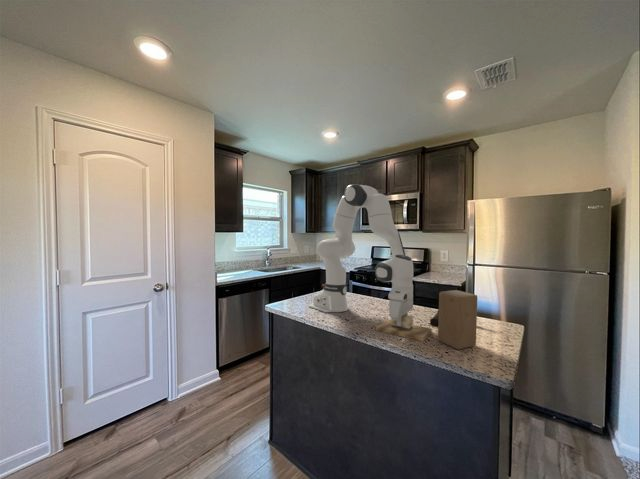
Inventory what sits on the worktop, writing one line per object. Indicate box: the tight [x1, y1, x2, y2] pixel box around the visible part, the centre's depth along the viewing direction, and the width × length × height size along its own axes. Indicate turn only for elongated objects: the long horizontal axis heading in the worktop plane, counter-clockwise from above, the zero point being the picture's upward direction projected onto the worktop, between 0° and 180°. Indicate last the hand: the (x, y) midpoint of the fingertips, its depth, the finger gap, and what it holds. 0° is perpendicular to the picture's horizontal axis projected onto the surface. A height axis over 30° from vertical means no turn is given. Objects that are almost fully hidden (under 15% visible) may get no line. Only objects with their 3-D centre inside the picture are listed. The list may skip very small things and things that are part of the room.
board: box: [375, 319, 432, 342], centre depth 119 cm, size 20×13×2 cm, turn 54°
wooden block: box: [437, 289, 478, 350], centre depth 106 cm, size 10×10×20 cm
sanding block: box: [390, 314, 414, 330], centre depth 120 cm, size 8×4×5 cm, turn 54°
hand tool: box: [429, 309, 439, 327], centre depth 134 cm, size 19×4×5 cm, turn 144°
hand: (401, 323), depth 120 cm, fingers closed on sanding block, 4 cm apart
